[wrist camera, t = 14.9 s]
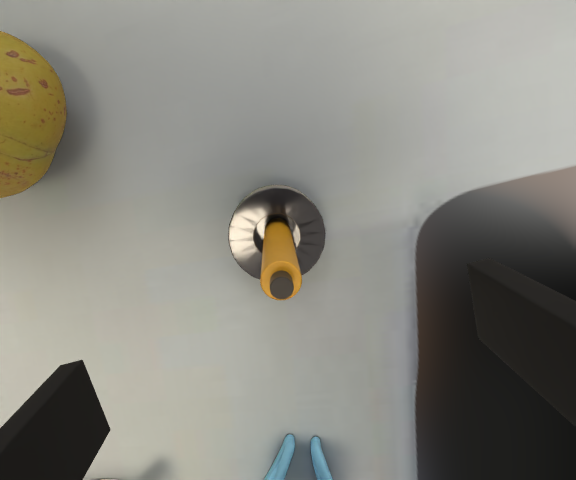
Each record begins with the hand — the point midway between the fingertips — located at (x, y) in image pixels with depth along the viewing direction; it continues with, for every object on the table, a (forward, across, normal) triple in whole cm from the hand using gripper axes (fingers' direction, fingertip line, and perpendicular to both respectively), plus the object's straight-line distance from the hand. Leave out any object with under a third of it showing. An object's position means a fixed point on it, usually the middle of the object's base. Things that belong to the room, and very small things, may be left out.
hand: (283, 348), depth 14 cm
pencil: (+22, 0, 0) cm, 22 cm away
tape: (+22, 0, 0) cm, 22 cm away
